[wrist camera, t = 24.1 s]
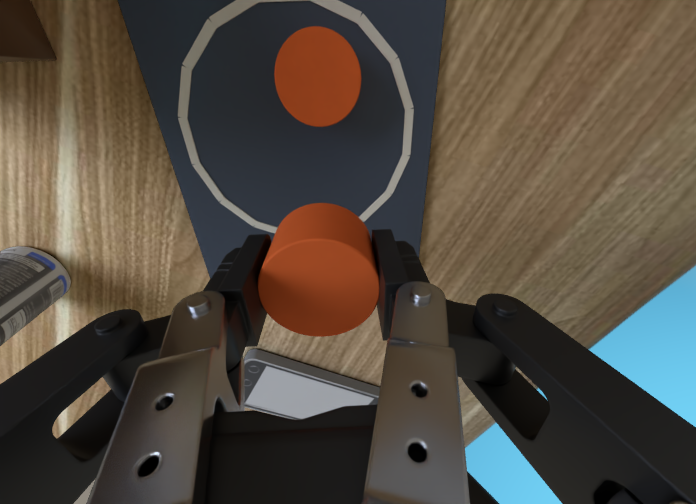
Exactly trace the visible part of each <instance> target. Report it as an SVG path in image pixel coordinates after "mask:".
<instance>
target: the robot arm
mask: <svg viewBox="0 0 696 504" xmlns="http://www.w3.org/2000/svg"><path fill="white" fill-rule="evenodd" d="M271 243H272V242H271V238H270V235H269V234H257V235H248V237H247V238H246V240H245V242H244V244H243V245H242V247H241V248H235V249H233V250H232V251H231V252H229V253H228V254H226V255H225V257H224V259H223V260H222V262H221V265H219V266H218V268H217V270H216V271H215V273H214V274H213V276H212V277H211V279H210V281H209V282H208V284H207V285H206V287H205V288H204V290H203V291H201V292H197V293H194V294H192V295H189V296H187V297H185V298H184V299H182V300H181V301H180V302H179V303H178V304H177V305H176V306H175V307H174V309H173V311H172V314H171V315H169V316H165V317H161V318H157V319H153V320H149V321H145V322H144V321H143V319H142V317H141V315H140V313H139V312H138V311H136V310H131V309H125V310H118V311H114V312H111V313H108V314H106V315H103V316H101V317H99V318H97V319H96V320H94V321H92V322H91V323H89V324H88V325H86V326H85V327H84V328H82V329H81V330H79V331H78V332H76V333H75V334H73V335H72V336H70V337H69V338H67V339H66V340H65V341H63V342H62V343H60V344H59V345H57V346H56V347H54V348H53V349H51V350H50V351H48V352H47V353H45V354H44V355H43V356H41V357H40V358H38V359H37V360H35V361H34V362H32V363H31V364H29V365H28V366H26V367H25V368H24V369H22V370H21V371H19V372H18V373H16V374H15V375H13V376H12V377H10V378H9V379H7V380H6V381H5V382H3V383H2V384H0V504H73V503H74V502H75V501H76V500H77V499H78V498H79V496H80V495H81V494H82V493H83V492H84V491H85V490H86V489H87V487H88V486H89V485H90V484H91V483H92V482H93V481H94V480H95V482H94V485H93V487H92V490H91V493H90V495H89V498H88V501H87V503H86V504H499V503H498V502H497V501H496V500H495V499H494V498H493V497H492V496H491V495H490V494H489V493H488V492H487V491H486V490H485V489H484V488H483V487H482V486H481V485H480V484H479V483H478V482H477V481H476V480H475V479H474V478H473V477H472V476H471V475H470V474H469V473H468V472H467V467H466V457H465V447H464V436H463V426H462V416H461V405H460V395H459V385H458V377H461V378H462V380H463V381H464V383H465V384H466V385H467V387H468V388H469V389H470V390H471V392H472V393H473V394H474V395H475V397H476V398H477V399H478V400H479V401H480V403H481V404H482V405H483V406H484V408H485V409H486V410H487V411H488V413H489V414H490V415H491V416H492V417H493V419H494V420H495V421H496V422H497V424H498V425H499V426H500V427H501V428H502V430H503V431H504V432H505V433H506V435H507V436H508V437H509V438H510V440H511V441H512V442H513V443H514V445H515V446H516V447H517V448H518V449H519V451H520V452H521V453H522V454H523V456H524V457H525V458H526V459H527V461H528V462H529V463H530V464H531V465H532V467H533V468H534V469H535V470H536V472H537V473H538V474H539V475H540V477H541V478H542V479H543V480H544V481H545V483H546V484H547V485H548V486H549V488H550V489H551V490H552V491H553V493H554V494H555V495H556V496H557V497H558V498H559V500H560V501H561V502H562V503H563V504H696V427H694V426H693V425H691V424H690V423H689V422H687V421H686V420H685V419H683V418H682V417H680V416H678V414H676V413H675V412H673V411H672V410H671V409H669V408H668V407H666V406H665V405H664V404H662V403H661V402H659V401H658V400H657V399H656V398H654V397H653V396H651V395H650V394H649V393H647V392H646V391H644V390H643V389H642V388H640V387H639V386H638V385H636V384H635V383H633V382H632V381H631V380H629V379H628V378H627V377H625V376H624V375H622V374H621V373H620V372H618V371H617V370H615V369H614V368H613V367H611V366H610V365H608V364H607V363H606V362H604V361H603V360H601V359H600V358H599V357H598V356H596V355H595V354H593V353H592V352H591V351H589V350H588V349H587V348H585V347H584V346H582V345H581V344H580V343H578V342H577V341H575V340H574V339H573V338H571V337H570V336H569V335H567V334H566V333H564V332H563V331H562V330H560V329H559V328H558V327H556V326H555V325H553V324H552V323H551V322H549V321H548V320H546V319H545V318H544V317H542V316H541V315H540V314H538V313H537V312H535V311H534V310H533V309H531V308H530V307H529V306H527V305H526V304H524V303H523V302H521V301H520V300H518V299H516V298H513V297H511V296H508V295H503V294H486V295H483V296H481V297H480V298H479V299H478V300H477V303H476V306H474V305H468V304H462V303H457V302H453V301H450V300H447V299H446V298H445V295H444V293H443V292H442V290H441V289H439V288H438V287H436V286H435V285H433V284H430V282H429V280H428V278H427V276H426V274H425V271H424V269H423V267H422V265H421V263H420V260H419V258H418V256H417V254H416V252H415V250H414V247H413V246H411V245H410V244H409V243H407V242H406V241H395V238H394V236H393V233H392V230H391V229H379V230H372V247H373V251H374V256H375V261H376V265H377V270H378V275H379V300H378V303H377V309H378V314H379V320H380V326H381V332H382V337H383V341H384V340H388V341H387V347H386V354H385V360H384V366H383V373H382V379H381V386H380V392H379V399H378V404H377V405H357V406H343V407H340V408H337V409H333V410H330V411H327V412H324V413H320V414H317V415H314V416H311V417H308V418H304V419H300V420H294V419H289V418H285V417H280V416H276V415H271V414H267V413H263V412H258V411H244V401H245V363H244V359H243V352H244V349H245V347H249V346H257V345H258V342H259V338H260V335H261V332H262V328H263V325H264V322H265V318H266V315H267V312H266V310H265V309H264V307H263V305H262V303H261V301H260V297H259V292H258V277H259V273H260V271H261V268H262V265H263V263H264V260H265V258H266V255H267V253H268V250H269V248H270V245H271ZM515 367H518V368H519V369H520V370H521V371H522V372H523V373H524V374H525V375H526V376H527V377H528V378H529V379H530V380H531V381H532V382H533V383H534V384H535V385H536V386H537V387H538V388H539V389H540V390H541V391H542V392H543V393H544V395H545V396H546V398H547V400H548V401H547V400H546V399H545V398H544V397H543V396H542V395H541V394H540V393H539V392H538V391H537V390H536V389H535V388H534V387H533V386H532V385H531V384H530V383H529V382H528V381H527V380H526V379H525V378H524V377H523V376H522V375H521V374H520V373H519V372H518V371H517V370H516V369H515ZM102 377H103V378H104V379H105V381H106V382H107V384H108V385H109V386H110V388H111V390H110V391H109V392H108V393H107V394H106V395H105V396H104V397H102V398H101V399H100V400H99V401H98V402H97V403H96V404H95V405H94V406H93V407H92V408H91V409H89V410H88V411H87V412H86V413H85V414H84V415H83V416H82V417H81V418H80V419H79V420H78V421H76V422H75V423H74V424H73V425H72V426H71V427H70V428H69V429H68V430H67V431H66V432H64V433H63V434H62V435H61V436H60V437H59V438H57V439H56V438H55V437H54V435H53V433H52V427H53V424H54V422H55V420H56V418H57V417H58V416H59V414H60V413H61V412H62V411H63V410H65V409H66V408H67V407H68V406H69V405H70V404H71V403H73V402H74V401H75V400H76V399H77V398H78V397H80V396H81V395H82V394H83V393H84V392H85V391H87V390H88V389H89V388H90V387H91V386H92V385H94V384H95V383H96V382H97V381H98V380H99V379H100V378H102ZM95 478H96V479H95Z"/></svg>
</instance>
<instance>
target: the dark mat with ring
mask: <svg viewBox="0 0 696 504" xmlns="http://www.w3.org/2000/svg"><path fill="white" fill-rule="evenodd" d="M118 3H119V6H120V9H121V12H122V15H123V18H124V21H125V24H126V27H127V30H128V33H129V36H130V39H131V42H132V45H133V48H134V51H135V54H136V57H137V60H138V63H139V66H140V69H141V72H142V75H143V78H144V81H145V84H146V87H147V90H148V93H149V96H150V99H151V102H152V105H153V108H154V111H155V114H156V117H157V120H158V123H159V126H160V129H161V132H162V135H163V138H164V141H165V144H166V147H167V150H168V153H169V156H170V159H171V162H172V165H173V168H174V171H175V174H176V177H177V180H178V183H179V186H180V189H181V192H182V195H183V198H184V201H185V204H186V207H187V210H188V213H189V216H190V219H191V222H192V225H193V228H194V231H195V234H196V237H197V240H198V243H199V246H200V249H201V252H202V255H203V258H204V261H205V264H206V267H207V270H208V273H209V276H210V279H211V277H212V276H213V274H214V273H215V271H216V270H217V268H218V266H219V265H221V262H222V260H223V259H224V257H225V255H226V254H228V253H229V252H231V251H232V250H233V249H235V248H241V247H242V245H243V244H244V242H245V240H246V238H247V237H248V235H257V234H269V235H270V238H271V242H272V240H273V238H274V235H275V233H276V230H277V228H278V226H279V225H280V223H281V222H282V220H283V219H284V218H285V217H286V216H287V215H288V214H290V213H291V212H292V211H294V210H296V209H297V208H299V207H302V206H305V205H308V204H313V203H329V204H335V205H338V206H341V207H344V208H346V209H348V210H350V211H351V212H353V213H354V214H355V215H357V216H358V217H359V218H360V219H361V220H362V222H363V223H364V224H365V226H366V227H367V229H368V231H369V234H370V237H371V242H372V230H379V229H391V230H392V233H393V236H394V238H395V241H406V242H407V243H409V244H410V245H411V246H413V247H414V250H415V252H416V254H417V256H418V258H419V251H420V241H421V232H422V223H423V213H424V204H425V195H426V185H427V176H428V167H429V157H430V148H431V138H432V129H433V120H434V110H435V101H436V92H437V82H438V73H439V64H440V54H441V45H442V36H443V26H444V17H445V7H446V0H118ZM311 26H321V27H325V28H329V29H331V30H333V31H335V32H337V33H338V34H340V35H341V36H342V37H344V38H345V39H346V40H347V41H348V43H349V44H350V45H351V47H352V48H353V50H354V52H355V54H356V56H357V58H358V61H359V65H360V70H361V89H360V93H359V97H358V99H357V102H356V104H355V106H354V107H353V109H352V110H351V112H350V113H349V114H348V115H347V116H346V117H345V118H344V119H342V120H341V121H339V122H338V123H336V124H333V125H330V126H326V127H315V126H310V125H307V124H304V123H302V122H300V121H299V120H297V119H296V118H294V117H293V116H292V115H291V114H290V113H289V112H288V111H287V109H286V108H285V107H284V105H283V104H282V102H281V100H280V98H279V96H278V93H277V90H276V85H275V77H274V70H275V62H276V59H277V55H278V53H279V51H280V49H281V47H282V45H283V44H284V42H285V41H286V40H287V39H288V38H289V37H290V36H291V35H292V34H293V33H295V32H296V31H298V30H300V29H303V28H306V27H311Z"/></svg>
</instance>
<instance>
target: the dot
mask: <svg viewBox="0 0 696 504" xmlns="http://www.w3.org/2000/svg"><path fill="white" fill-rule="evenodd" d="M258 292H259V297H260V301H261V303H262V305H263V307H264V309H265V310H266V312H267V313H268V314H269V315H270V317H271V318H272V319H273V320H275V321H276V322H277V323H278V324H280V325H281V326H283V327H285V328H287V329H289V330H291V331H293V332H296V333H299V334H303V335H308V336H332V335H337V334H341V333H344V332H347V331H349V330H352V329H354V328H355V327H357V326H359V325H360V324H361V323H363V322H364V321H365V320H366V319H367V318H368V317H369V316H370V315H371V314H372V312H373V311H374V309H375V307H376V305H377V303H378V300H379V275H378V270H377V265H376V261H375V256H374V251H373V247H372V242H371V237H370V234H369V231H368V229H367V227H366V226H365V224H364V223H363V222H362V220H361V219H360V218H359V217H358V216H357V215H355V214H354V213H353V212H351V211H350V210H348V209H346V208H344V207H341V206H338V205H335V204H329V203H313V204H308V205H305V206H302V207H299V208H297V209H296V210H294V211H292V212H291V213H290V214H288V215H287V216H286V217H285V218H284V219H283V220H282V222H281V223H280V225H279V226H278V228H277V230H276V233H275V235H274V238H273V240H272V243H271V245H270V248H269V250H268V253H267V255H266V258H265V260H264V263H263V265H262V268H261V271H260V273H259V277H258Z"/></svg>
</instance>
